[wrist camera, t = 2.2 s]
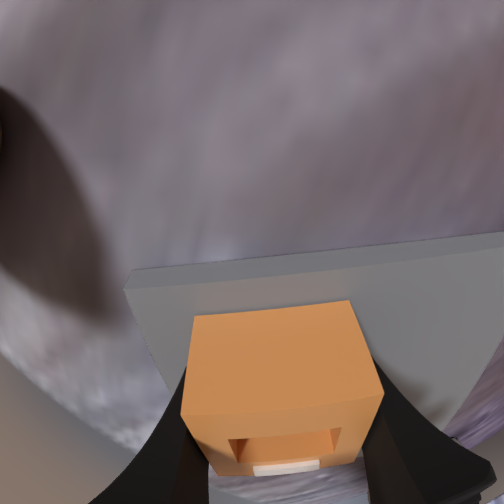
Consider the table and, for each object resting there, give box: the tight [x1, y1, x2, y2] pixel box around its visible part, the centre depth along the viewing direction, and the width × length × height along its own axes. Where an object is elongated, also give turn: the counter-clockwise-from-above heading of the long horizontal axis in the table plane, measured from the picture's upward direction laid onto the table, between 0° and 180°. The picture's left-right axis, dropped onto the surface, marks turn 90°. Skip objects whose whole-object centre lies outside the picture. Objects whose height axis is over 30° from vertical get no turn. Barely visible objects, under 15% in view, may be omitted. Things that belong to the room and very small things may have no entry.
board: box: [123, 231, 504, 458], centre depth 15 cm, size 18×18×1 cm
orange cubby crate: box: [181, 300, 384, 476], centre depth 10 cm, size 5×5×4 cm
